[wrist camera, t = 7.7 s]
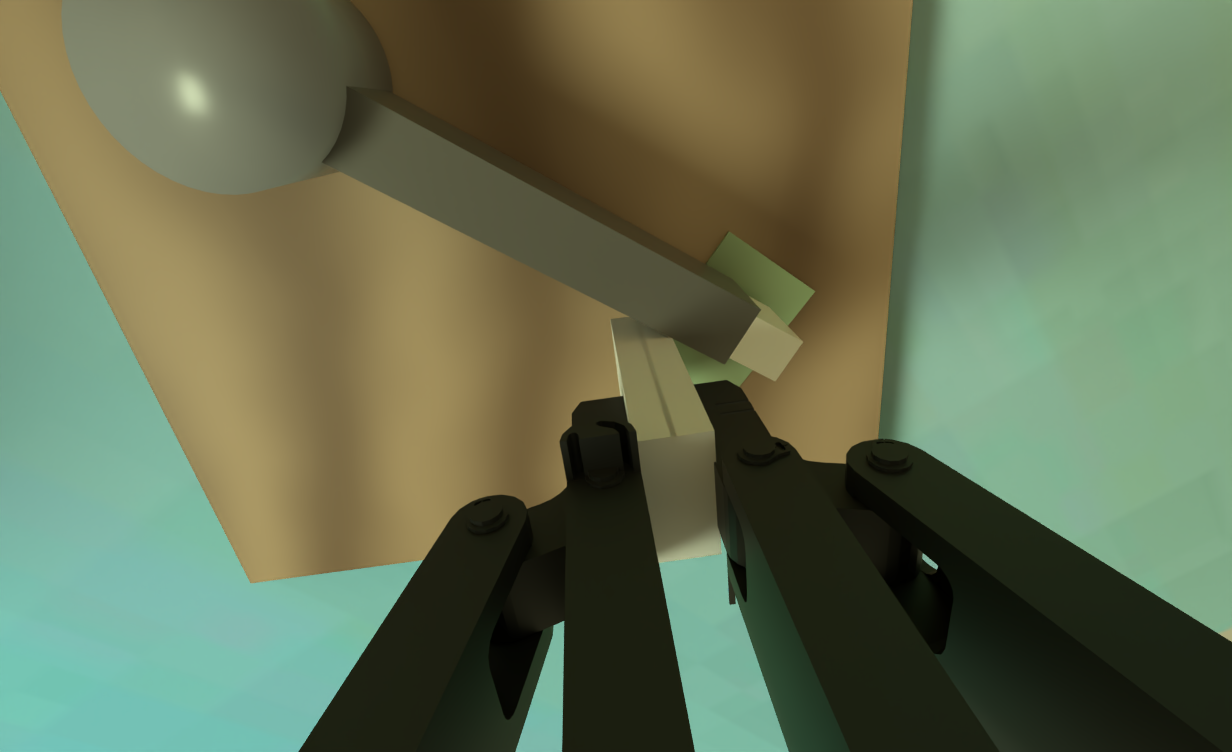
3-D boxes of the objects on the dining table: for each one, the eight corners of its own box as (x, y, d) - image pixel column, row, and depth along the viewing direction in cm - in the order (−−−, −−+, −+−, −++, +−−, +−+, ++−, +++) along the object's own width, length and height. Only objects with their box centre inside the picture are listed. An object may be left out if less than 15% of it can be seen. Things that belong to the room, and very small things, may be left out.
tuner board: (267, 559, 21) (249, 585, 20) (-12, -20, 14) (-66, -32, 13) (858, 479, 21) (874, 500, 20) (898, -140, 14) (928, -164, 13)
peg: (181, 119, 14) (44, 121, 11) (226, -75, 13) (83, -151, 9) (715, 381, 18) (750, 449, 14) (798, 255, 16) (860, 295, 13)
